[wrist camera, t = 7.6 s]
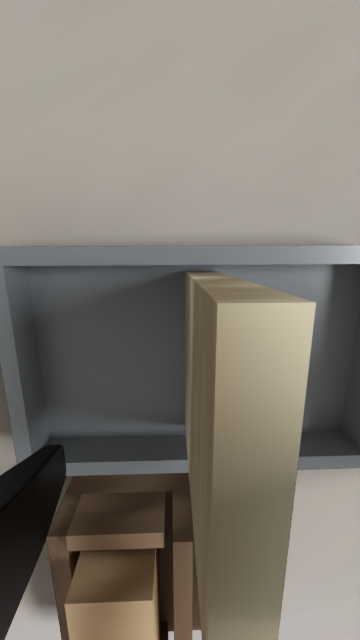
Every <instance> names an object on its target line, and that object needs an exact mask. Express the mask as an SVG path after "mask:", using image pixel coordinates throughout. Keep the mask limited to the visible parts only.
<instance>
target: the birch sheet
mask: <svg viewBox="0 0 360 640" xmlns="http://www.w3.org/2000/svg"><path fill="white" fill-rule="evenodd" d="M315 309H316V302H313V301H310V300H307V299H303V298H300V297H297V296H294V295H291V294H287V293H284V292H281V291H278V290H275V289H271V288H268V287H265V286H262V285H259V284H255V283H252V282H249V281H246V280H243V279H239V278H236V277H233V276H230V275H226V274H223V273H220V272H217V271H185V431H186V444H187V456H188V469H189V481H190V494H191V507H192V519H193V532H194V544H195V557H196V570H197V582H198V595H199V607H200V620H201V632H202V640H278V635H279V626H280V617H281V608H282V600H283V591H284V582H285V573H286V564H287V555H288V547H289V538H290V529H291V520H292V511H293V503H294V494H295V485H296V476H297V467H298V459H299V450H300V441H301V432H302V423H303V414H304V406H305V397H306V388H307V379H308V370H309V362H310V353H311V344H312V335H313V326H314V318H315Z"/></svg>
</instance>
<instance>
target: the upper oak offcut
mask: <svg viewBox="0 0 360 640" xmlns="http://www.w3.org/2000/svg"><path fill="white" fill-rule="evenodd" d="M64 605H65V612H66V619H67V626H68V633H69V640H158V611H157V581H156V550H128V551H100V552H80V555H79V559H78V562H77V565H76V568H75V572H74V575H73V578H72V581H71V585H70V588H69V591H68V594H67V597H66V601H65V604H64Z"/></svg>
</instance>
